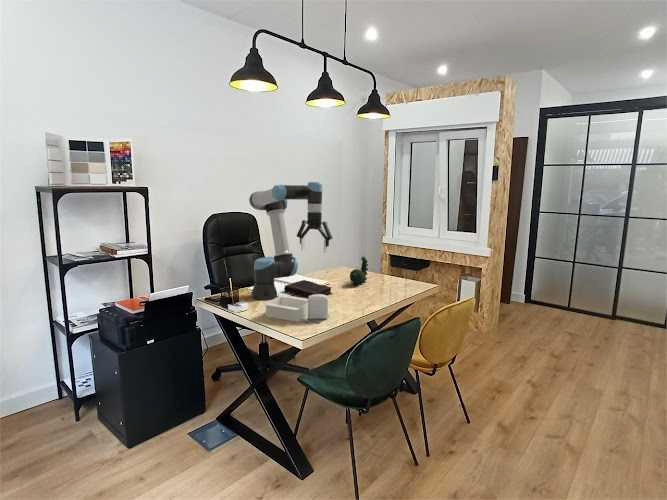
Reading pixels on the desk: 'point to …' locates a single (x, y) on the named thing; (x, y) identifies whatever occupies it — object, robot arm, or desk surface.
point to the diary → (307, 288)
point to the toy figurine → (359, 273)
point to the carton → (287, 308)
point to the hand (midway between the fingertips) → (314, 251)
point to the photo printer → (317, 306)
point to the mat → (316, 320)
